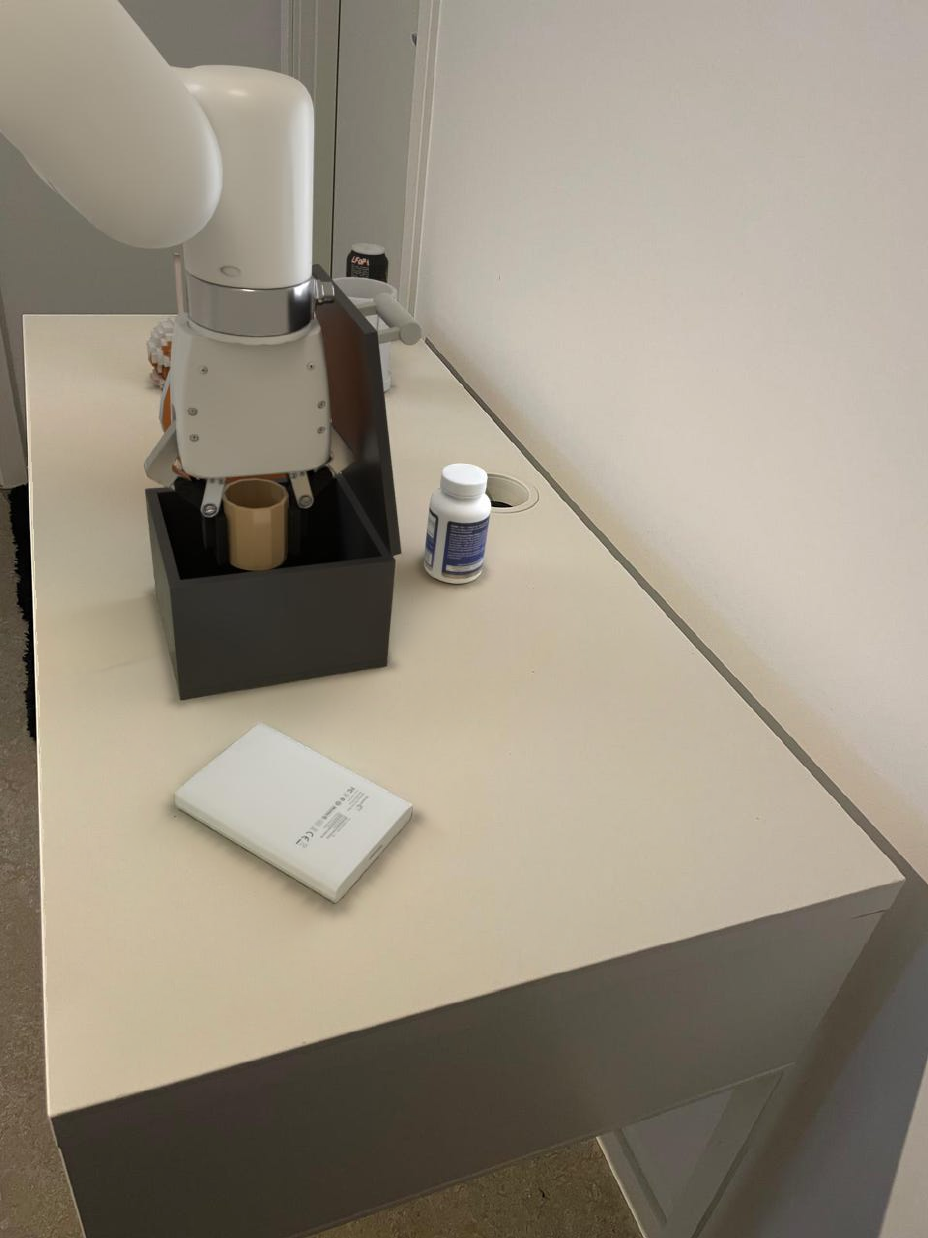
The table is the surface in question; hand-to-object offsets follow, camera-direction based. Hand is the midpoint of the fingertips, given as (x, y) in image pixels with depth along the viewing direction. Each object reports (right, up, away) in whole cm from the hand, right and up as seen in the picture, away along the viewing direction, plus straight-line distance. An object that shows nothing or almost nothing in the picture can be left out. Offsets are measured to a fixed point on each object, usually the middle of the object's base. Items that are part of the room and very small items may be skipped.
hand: (255, 548), depth 66 cm
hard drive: (+5, -18, -9) cm, 20 cm away
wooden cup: (0, 0, 0) cm, 0 cm away
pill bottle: (+14, -1, +16) cm, 22 cm away
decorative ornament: (-18, +23, +43) cm, 52 cm away
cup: (+1, +24, +48) cm, 53 cm away
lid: (+7, +10, -3) cm, 12 cm away
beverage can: (+1, +36, +63) cm, 73 cm away
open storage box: (0, -6, +6) cm, 8 cm away
